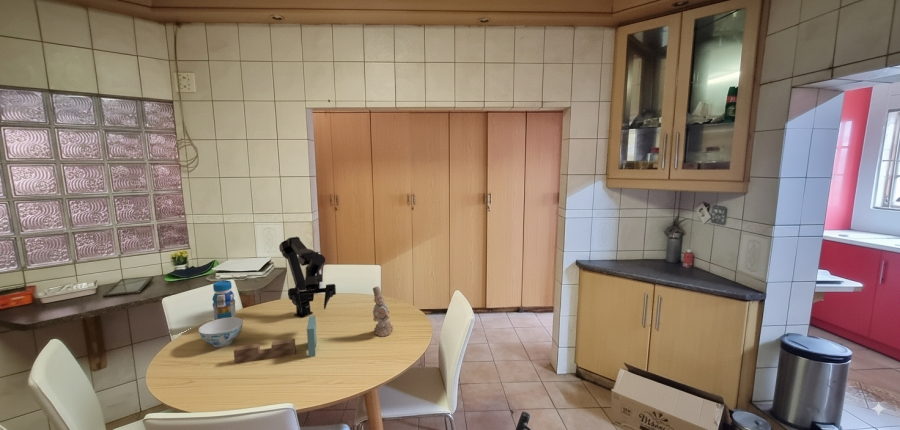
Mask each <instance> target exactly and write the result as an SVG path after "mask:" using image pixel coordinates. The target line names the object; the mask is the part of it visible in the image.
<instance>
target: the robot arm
mask: <svg viewBox="0 0 900 430" xmlns="http://www.w3.org/2000/svg"><path fill="white" fill-rule="evenodd" d="M278 249H279V252H281V255H282V257H284V258H285V259H286V260H287V261H288V266H289V268H290V273H291V276H292V278H293V281H294V287H292V288H291V287H290V288H289V289H288V291H287V295H288V299H289V300H291V303H292V305H294V306H295V310H296V312H294V313H293V316H296V317H297V318H298V317H299V318H301V319H302V318H303V319H304V318H305V317H308V316H311V315H312V314H314V312H313V311H311V305H310V304H311V302H314V296H315V294H323V293H324V301H323V310H326V308H327V305H328V303H329V301H330V299H331V298H333V296H335V295H336V294H337V291H336V284H335V283H329V284H325V287H321V286H320V285H321V284H320V283H323V282H324V281H323V280H324V279H323V273H320V272H321V270H322V268H323V266H324V264H325V263H326V257H325V256H324V255H322V254H321V253H319V252H318V251H315V250H314V249H311V248H307V246H306V245H305V244H304V243H303V242H302V241H301V239H300V237H299V236H291V237H288V238H287V239H286V240H284V241H282V242H280V244H279V248H278ZM301 266H302V267H303V266H305V276H304V273H303V270H302V267H301Z"/></svg>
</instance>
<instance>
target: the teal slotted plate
mask: <svg viewBox="0 0 900 430" xmlns="http://www.w3.org/2000/svg"><path fill="white" fill-rule="evenodd" d="M306 336H307V355H308V358H312V357H316V352H317V351H316V348H317V343H318V341H317V338H318V336H317V323H316V315H312V316H311V315H308V321H307V326H306Z"/></svg>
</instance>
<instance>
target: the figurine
mask: <svg viewBox="0 0 900 430" xmlns="http://www.w3.org/2000/svg"><path fill="white" fill-rule="evenodd" d="M372 291H373V295H374V298H373V301H374V303H375V305H374V307H373V309H372V316H373V321H374V322H377V323H376V324H375V327H374V329H373V331H375V335H377V336H379V337H386V336H389V335H390V334H391V333H392V332H393V330H394V325H392V323H391V321H390V317H391V316H390V309H389V307H388V305H387V302H385V296H384V295H383V293H382V291H381V288H380V287H379V285H378V286H375V287H373V288H372Z"/></svg>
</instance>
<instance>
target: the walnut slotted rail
mask: <svg viewBox="0 0 900 430" xmlns="http://www.w3.org/2000/svg"><path fill="white" fill-rule="evenodd" d="M296 352H297V351H296V339H295V338H290V339H282V340H281V339H280V340H274V341H272V342H271V347H270V348H261V345H260V343H253V344H252V343H251V344H245V345H239V346H235V348H234V349H233V358H234V364H241V363H249V362H255V361H262V360H267V359H269V360H270V359H274V358H279V357H281V358H282V357H287V356H288V357H289V356H294V355H296Z"/></svg>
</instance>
